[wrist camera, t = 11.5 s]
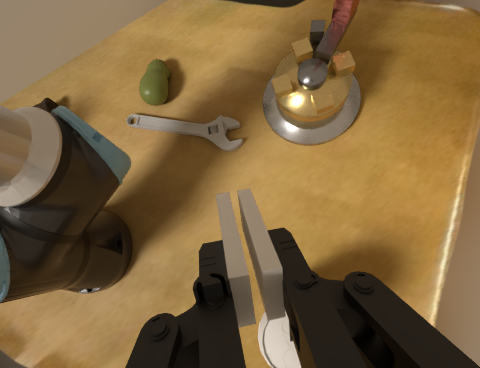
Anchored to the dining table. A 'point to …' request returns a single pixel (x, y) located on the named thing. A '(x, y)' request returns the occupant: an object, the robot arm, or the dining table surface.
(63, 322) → the dining table surface
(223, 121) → the adjustable wrench
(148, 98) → the pear
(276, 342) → the supplement can
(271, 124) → the spindle base
